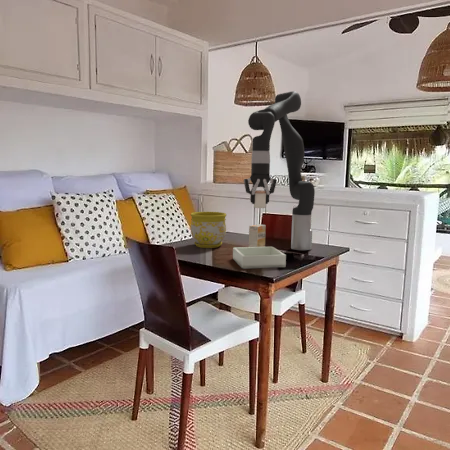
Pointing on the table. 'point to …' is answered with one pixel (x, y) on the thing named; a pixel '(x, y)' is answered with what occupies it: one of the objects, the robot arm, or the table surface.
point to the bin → (259, 257)
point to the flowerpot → (208, 228)
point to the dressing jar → (260, 199)
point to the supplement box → (257, 235)
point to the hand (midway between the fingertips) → (259, 203)
